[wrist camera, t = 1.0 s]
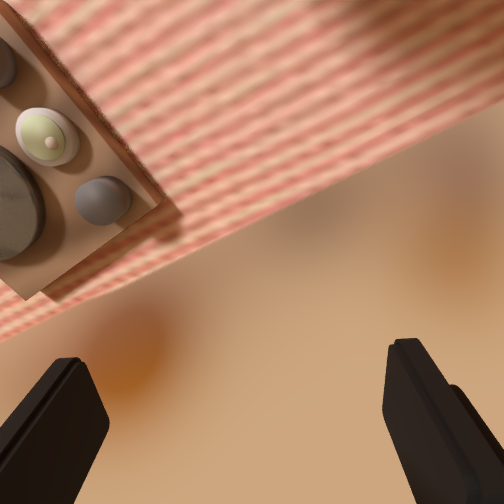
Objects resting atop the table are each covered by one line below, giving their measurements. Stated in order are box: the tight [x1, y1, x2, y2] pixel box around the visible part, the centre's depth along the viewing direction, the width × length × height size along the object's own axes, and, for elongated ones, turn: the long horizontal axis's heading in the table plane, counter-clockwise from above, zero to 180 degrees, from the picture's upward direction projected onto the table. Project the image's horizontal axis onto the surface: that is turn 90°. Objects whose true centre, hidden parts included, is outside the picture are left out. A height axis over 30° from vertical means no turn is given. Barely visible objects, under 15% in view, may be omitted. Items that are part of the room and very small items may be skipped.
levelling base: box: [0, 0, 164, 301], centre depth 32 cm, size 22×22×6 cm
